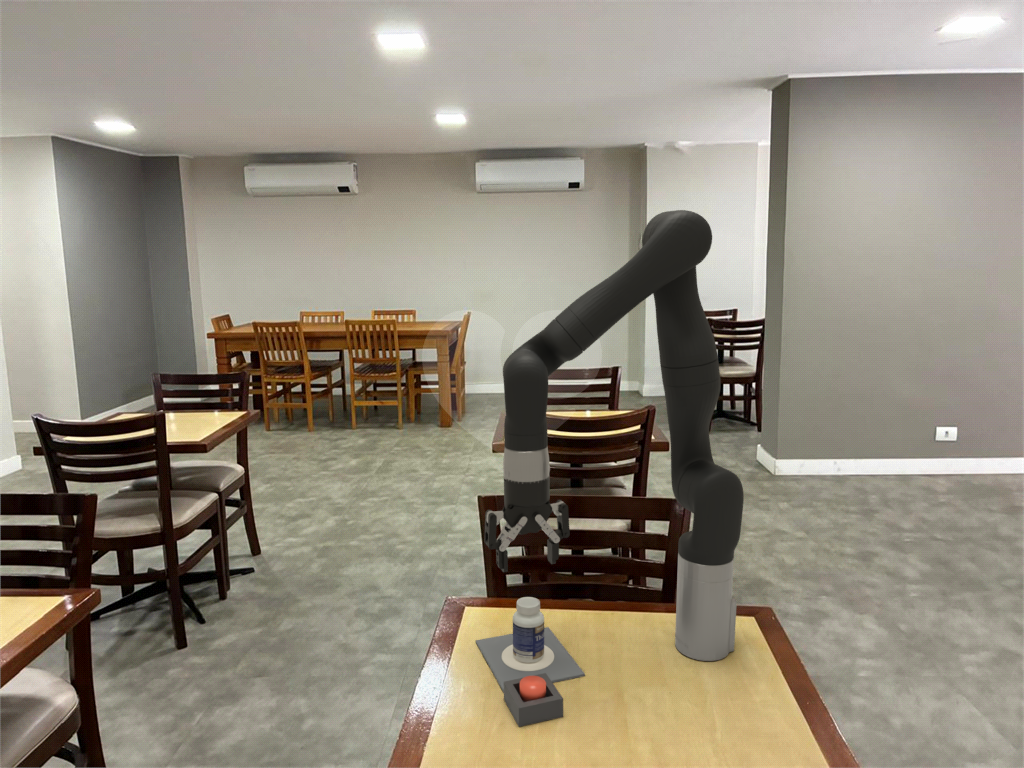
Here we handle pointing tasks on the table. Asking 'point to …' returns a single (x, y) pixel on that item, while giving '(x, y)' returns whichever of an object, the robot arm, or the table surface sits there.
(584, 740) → the table surface
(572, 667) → the grey mat
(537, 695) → the button
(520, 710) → the button housing
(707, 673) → the table surface
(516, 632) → the pill bottle
